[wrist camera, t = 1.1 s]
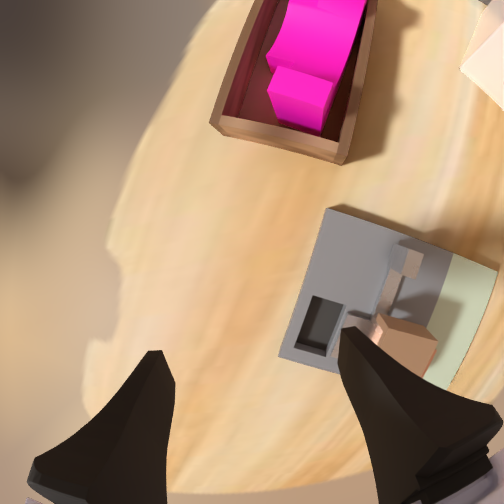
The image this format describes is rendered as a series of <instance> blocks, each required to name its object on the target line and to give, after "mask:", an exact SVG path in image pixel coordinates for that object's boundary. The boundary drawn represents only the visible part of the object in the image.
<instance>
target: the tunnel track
mask: <svg viewBox="0 0 504 504" xmlns="http://www.w3.org/2000/svg"><path fill="white" fill-rule="evenodd" d="M393 244H397V245H400V246H403V247H405V248H408V249H411V250H414V251H417V252H419V253H422V254H424V256H423V259H422V262H421V265H420V268H419V271H418V274H417V277H416V280H415V279H412V278H409V277H406V276H403V275H402V278H401V281H400V284H399V286H398V289H397V292H396V295H395V297H394V300H393V302H392V305H391V308H390V310H389V313H388V315H385V314H381V313H378V315H377V318H376V321H377V323H378V324H379V326H380V328H381V329H382V331H383V332H382V334H381V337H380V339H379V341H378V343H377V345H378V346H379V347H380V348H381V349H382V350H383V351H385V352H386V353H387V354H388V355H390V356H391V357H392V358H393V359H395V360H396V361H397V362H399V363H400V364H401V365H403V366H404V367H406V368H407V369H408V370H410V371H411V372H413V373H415V374H416V375H418V376H420V377H421V375H422V374H423V372H424V370H425V368H426V366H427V364H428V362H429V360H430V358H431V356H432V354H433V352H434V350H435V349H436V350H437V351H436V353H435V355H434V357H433V359H432V361H431V363H430V365H429V367H428V369H427V371H426V373H425V375H424V377H423V379H425V380H426V381H428V382H430V383H432V384H434V385H436V386H438V387H440V388H442V389H444V390H447V388H448V386H449V385H450V383H451V381H452V379H453V377H454V376H455V374H456V372H457V370H458V368H459V366H460V364H461V362H462V360H463V358H464V356H465V354H466V352H467V350H468V348H469V346H470V344H471V342H472V340H473V337H474V335H475V333H476V331H477V328H478V326H479V324H480V321H481V319H482V316H483V314H484V311H485V309H486V306H487V303H488V301H489V298H490V295H491V292H492V289H493V286H494V283H495V280H496V277H497V274H498V272H497V271H495V270H492V269H490V268H488V267H486V266H483V265H481V264H479V263H476V262H474V261H472V260H469V259H467V258H464V257H462V256H460V255H457V254H455V253H452V252H450V251H447V250H445V249H442V248H440V247H437V246H434V245H432V244H429V243H427V242H424V241H421V240H419V239H416V238H413V237H411V236H408V235H405V234H403V233H400V232H397V231H394V230H391V229H389V228H386V227H383V226H380V225H377V224H374V223H371V222H368V221H366V220H363V219H360V218H357V217H354V216H350V215H347V214H344V213H341V212H338V211H335V210H332V209H329V208H326V210H325V213H324V217H323V220H322V223H321V227H320V230H319V233H318V237H317V240H316V243H315V247H314V250H313V253H312V256H311V259H310V263H309V266H308V269H307V272H306V275H305V278H304V281H303V284H302V287H301V290H300V293H299V296H298V299H297V302H296V305H295V308H294V311H293V314H292V317H291V319H290V322H289V325H288V328H287V331H286V334H285V336H284V339H283V342H282V345H281V347H280V350H279V354H278V357H281V358H284V359H287V360H291V361H294V362H297V363H301V364H304V365H308V366H311V367H315V368H318V369H322V370H326V371H329V372H333V373H337V374H340V372H339V368H338V364H337V361H338V358H334V357H331V356H330V352H331V350H332V348H333V345H334V343H335V341H336V338H337V336H338V333H339V331H340V328H341V326H342V323H343V321H344V318H345V316H346V313H347V312H349V313H352V314H355V315H359V316H362V317H366V318H369V319H370V316H371V314H372V311H373V309H374V306H375V304H376V301H377V298H378V296H379V293H380V290H381V288H382V285H383V282H384V279H385V276H386V273H387V270H388V267H389V266H387V263H388V260H389V257H390V254H391V251H392V247H393Z"/></svg>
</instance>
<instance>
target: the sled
mask: <svg viewBox="0 0 504 504" xmlns="http://www.w3.org/2000/svg"><path fill="white" fill-rule="evenodd" d="M423 256H424V254H422V253H419V252H417V251H414V250H411V249H408V248H405V247H403V246H400V245H397V244H393V247H392V251H391V254H390V257H389V260H388V263H387V266H389V267H388V270H387V273H386V276H385V279H384V282H383V285H382V288H381V290H380V293H379V296H378V298H377V301H376V304H375V306H374V309H373V311H372V314H371V316H370V319H369V318H366V317H362V316H359V315H355V314H352V313H349V312H347V313H346V316H345V318H344V321H343V323H342V326H341V328H347V327H352V326H356V327H357V328H358V329H359V330H360V331H362V332H363V333H364V334H365V335H366V336H367V337H368V338H370V339H371V340H372V341H373V342H374V343H375V344H376V345H377V343H378V341H379V339H380V337H381V334H382V332H383V331H382V329H381V328H380V326H379V324H378V323H377V321H376V318H377V315H378V313H381V314H385V315H388V313H389V310H390V308H391V305H392V302H393V300H394V297H395V295H396V292H397V289H398V286H399V284H400V281H401V278H402V275H403V276H406V277H409V278H412V279H415V280H416V277H417V274H418V271H419V268H420V265H421V262H422V259H423ZM341 328H340V331H339V333H338V336H337V338H336V341H335V343H334V345H333V348H332V350H331V352H330V356H331V357H334V358H338V353H339V343H340V334H341ZM436 351H437V350H436V349H435V350H434V352H433V354H432V356H431V358H430V360H429V362H428V364H427V366H426V368H425V370H424V372H423V374H422V375H421V378H423V377H424V375H425V373H426V371H427V369H428V367H429V365H430V363H431V361H432V359H433V357H434V355H435V353H436Z"/></svg>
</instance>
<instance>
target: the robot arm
mask: <svg viewBox="0 0 504 504" xmlns="http://www.w3.org/2000/svg"><path fill="white" fill-rule="evenodd" d="M337 364H338V368H339V372H340V375H341V379H342V382H343V385H344V387H345V390H346V392H347V394H348V397H349V399H350V401H351V404H352V406H353V408H354V411H355V413H356V415H357V418H358V420H359V422H360V425H361V427H362V430H363V433H364V436H365V440H366V443H367V447H368V451H369V455H370V459H371V463H372V467H373V472H374V477H375V482H376V488H377V493H378V500H379V504H504V448H503V449H501V450H500V451H499V452H497V453H496V454H494V455H493V456H492V457H491V458H489V459H488V457H487V455H486V454H487V453H488V452H489V449H488V447H487V444H488V442H489V441H490V440H491V439H492V438H493V437H494V436H495V435H496V434H497V432H498V431H499V430H500V428H501V427H502V425H503V420H502V418H501V417H500V415H499V414H498V412H497V411H496V409H495V408H494V407H493V405H489V404H485V403H481V402H477V401H473V400H470V399H467V398H464V397H461V396H459V395H456V394H453V393H451V392H449V391H446V390H444V389H442V388H440V387H438V386H436V385H434V384H432V383H430V382H428V381H426V380H425V379H423V378H421V377H420V376H418V375H416V374H415V373H413V372H411V371H410V370H408V369H407V368H406V367H404V366H403V365H401V364H400V363H399V362H397V361H396V360H395V359H393V358H392V357H391V356H390V355H388V354H387V353H386V352H385V351H383V350H382V349H381V348H380V347H379V346H378V345H376V344H375V343H374V342H373V341H372V340H371V339H370V338H368V337H367V336H366V335H365V334H364V333H363V332H362V331H360V330H359V329H358V328H357V327H356V326H352V327H347V328H341V334H340V343H339V353H338V361H337ZM174 404H175V381H174V378H173V376H172V374H171V371H170V369H169V367H168V364H167V362H166V359H165V357H164V354H163V352H162V350H157V351H148V352H147V353H146V354H145V356H144V357H143V358H142V360H141V361H140V362H139V364H138V365H137V366H136V368H135V369H134V371H133V372H132V373H131V375H130V376H129V377H128V379H127V380H126V381H125V383H124V384H123V385H122V386H121V388H120V389H119V390H118V392H117V393H116V394H115V395H114V396H113V397H112V399H111V400H110V401H109V402H108V403H107V404H106V406H105V407H104V408H103V409H102V410H101V411H100V412H99V413H98V414H97V415H96V416H95V417H94V418H93V419H92V420H91V421H89V422H88V423H87V424H86V425H85V426H83V427H82V428H81V429H80V430H79V431H78V432H76V433H75V434H74V435H72V436H71V437H70V438H68V439H67V440H65V441H64V442H62V443H61V444H59V445H58V446H56V447H54V448H53V449H51V450H49V451H47V452H45V453H43V454H42V455H39V456H37V457H35V459H34V461H33V464H32V467H31V470H30V473H29V476H28V479H27V483H28V485H29V486H30V487H31V488H32V489H33V490H35V491H36V492H37V493H39V494H40V495H42V496H43V497H45V498H47V499H48V500H50V501H51V502H53V503H54V504H167V491H166V457H167V447H168V441H169V435H170V429H171V423H172V417H173V411H174ZM25 504H42V503H40V502H38V501H35V500H33V499H31V498H29V497H28V498H26V502H25Z"/></svg>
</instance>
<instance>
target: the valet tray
mask: <svg viewBox="0 0 504 504" xmlns="http://www.w3.org/2000/svg"><path fill="white" fill-rule="evenodd" d="M479 1H481V2H483V3H484V4H486V5H488V4H489V3H490V2H491V1H492V0H479Z"/></svg>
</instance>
